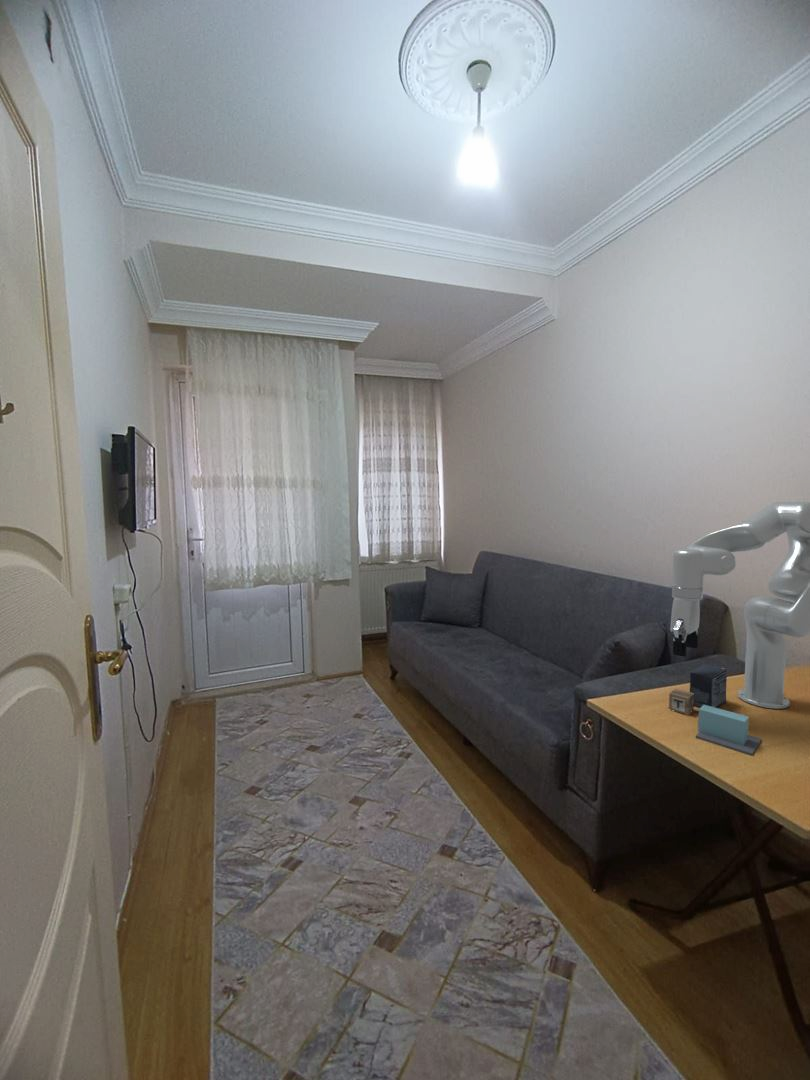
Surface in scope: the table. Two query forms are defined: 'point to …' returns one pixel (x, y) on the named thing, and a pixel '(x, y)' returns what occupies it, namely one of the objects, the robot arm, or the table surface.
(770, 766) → the table surface
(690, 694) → the wooden letter block
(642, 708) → the table surface
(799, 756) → the table surface
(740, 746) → the dark gray block
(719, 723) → the teal rectangular block
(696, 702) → the small box
